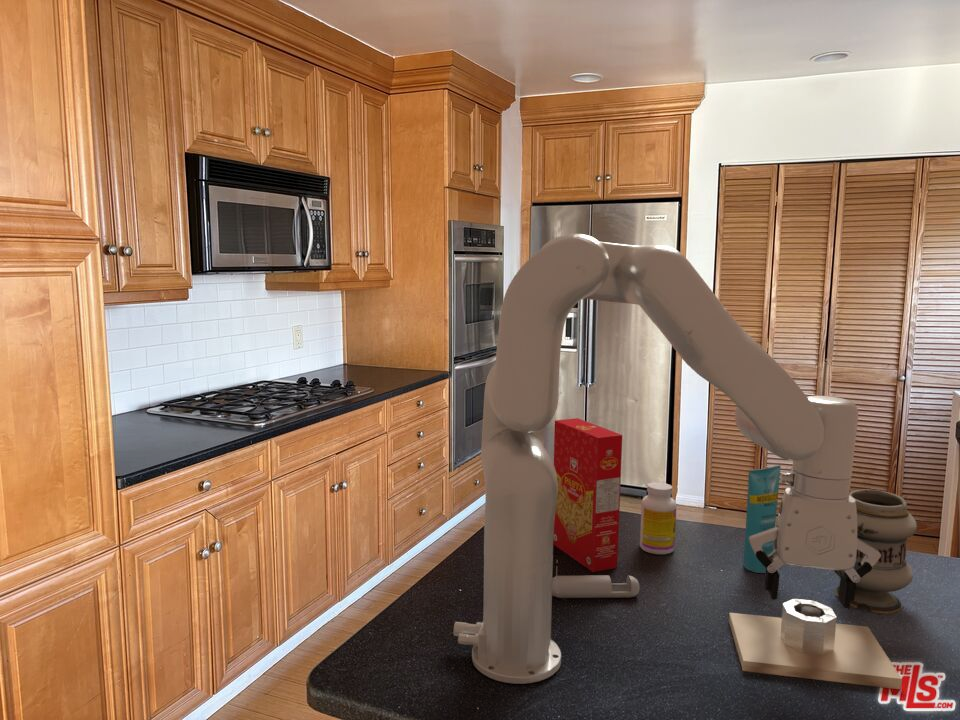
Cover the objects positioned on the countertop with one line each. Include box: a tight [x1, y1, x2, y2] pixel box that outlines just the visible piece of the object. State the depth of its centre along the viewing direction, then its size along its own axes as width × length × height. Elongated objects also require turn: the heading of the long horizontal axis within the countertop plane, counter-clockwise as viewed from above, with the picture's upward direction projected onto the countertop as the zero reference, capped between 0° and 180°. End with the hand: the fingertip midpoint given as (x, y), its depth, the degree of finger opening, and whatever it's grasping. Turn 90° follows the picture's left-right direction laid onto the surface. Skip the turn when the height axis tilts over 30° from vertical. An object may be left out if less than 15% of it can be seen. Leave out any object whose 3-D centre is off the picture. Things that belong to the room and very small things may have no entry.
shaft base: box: [728, 606, 903, 690], centre depth 104 cm, size 20×14×6 cm
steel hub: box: [781, 598, 838, 656], centre depth 104 cm, size 7×7×5 cm
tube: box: [743, 464, 781, 574], centre depth 132 cm, size 7×5×19 cm, turn 120°
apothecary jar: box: [833, 488, 918, 614], centre depth 120 cm, size 12×12×18 cm
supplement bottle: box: [639, 481, 677, 556], centre depth 141 cm, size 7×7×13 cm
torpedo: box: [552, 559, 640, 599], centre depth 121 cm, size 18×5×7 cm, turn 93°
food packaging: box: [553, 417, 623, 573], centre depth 137 cm, size 15×5×25 cm, turn 25°
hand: (807, 600), depth 103 cm, fingers open, 9 cm apart
